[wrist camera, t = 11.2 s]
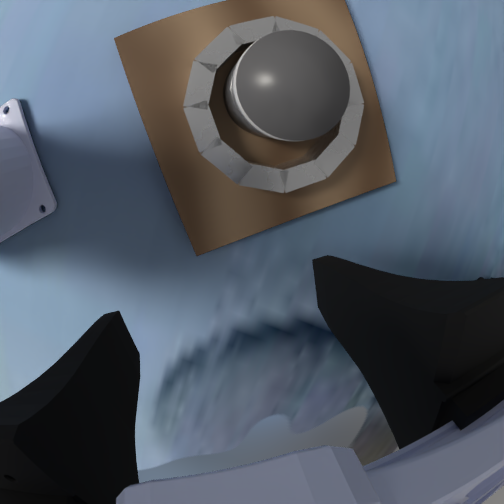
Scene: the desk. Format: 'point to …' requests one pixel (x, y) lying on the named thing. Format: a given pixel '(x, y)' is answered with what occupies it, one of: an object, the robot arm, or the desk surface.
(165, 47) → the walnut board
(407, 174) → the desk surface
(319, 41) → the charcoal lens
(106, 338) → the robot arm
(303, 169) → the mount ring
